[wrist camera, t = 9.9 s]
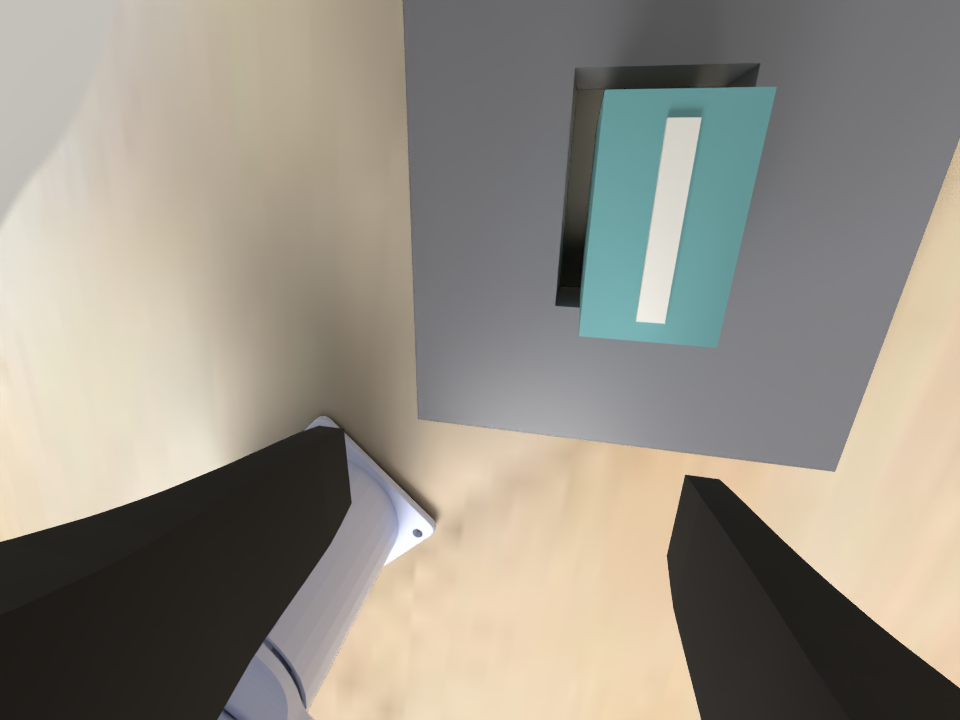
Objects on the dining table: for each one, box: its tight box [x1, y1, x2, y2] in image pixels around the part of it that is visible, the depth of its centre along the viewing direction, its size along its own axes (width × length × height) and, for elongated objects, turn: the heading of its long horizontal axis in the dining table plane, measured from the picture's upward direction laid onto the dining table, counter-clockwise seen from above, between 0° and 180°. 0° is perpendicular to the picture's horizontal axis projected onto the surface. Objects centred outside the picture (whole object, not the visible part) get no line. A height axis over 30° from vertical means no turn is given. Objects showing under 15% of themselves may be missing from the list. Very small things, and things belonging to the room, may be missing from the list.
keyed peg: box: [579, 87, 777, 348], centre depth 12 cm, size 5×3×7 cm, turn 179°
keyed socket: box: [403, 0, 960, 472], centre depth 14 cm, size 16×14×3 cm
